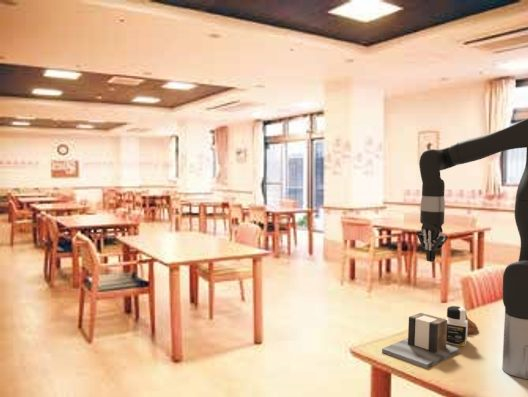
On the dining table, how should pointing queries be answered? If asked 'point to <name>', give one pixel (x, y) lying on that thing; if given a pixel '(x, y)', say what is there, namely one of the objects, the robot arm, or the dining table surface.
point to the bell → (471, 327)
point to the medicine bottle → (456, 326)
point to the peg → (422, 331)
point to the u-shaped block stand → (418, 354)
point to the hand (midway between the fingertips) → (430, 261)
